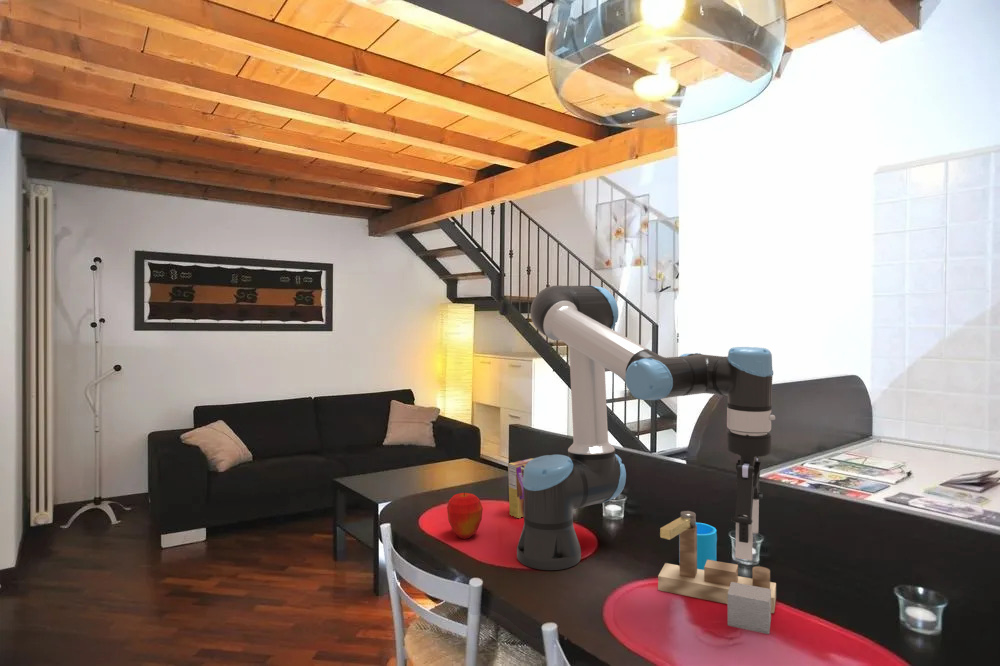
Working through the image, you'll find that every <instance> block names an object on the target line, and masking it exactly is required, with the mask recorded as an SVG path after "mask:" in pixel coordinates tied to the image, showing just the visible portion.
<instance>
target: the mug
mask: <svg viewBox="0 0 1000 666" xmlns="http://www.w3.org/2000/svg"><path fill="white" fill-rule="evenodd" d="M696 525H697V569H701V570H704V566H705V564H706V562H707V560H713V561H717V543H718V542H717V541H718V534H717V529H716V527H714V526H712V525H710V524H707V523H702V522H696ZM678 551H679V553H678V555H679V556H678V558H679V559H678V563H679V564H680V549H679V548H678Z"/></svg>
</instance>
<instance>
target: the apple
mask: <svg viewBox="0 0 1000 666" xmlns="http://www.w3.org/2000/svg"><path fill="white" fill-rule="evenodd" d="M446 509H447V511H446V512H447V519H448V523H449V525H450V527H451V530H452V532H453V533H454V534H456V536H457V537H458V538H461V539H465V540H466V539H469V538H471V537H472V536H473V535H475V534H476V533H477V531H478V530H479V527H480V525H481V522H482V519H483V511H484V510H483V505H482V503H481V500H480V498H479V497H478V496H477V495H475V494H474V493H469V492H465V490H464V491H463V492H459V493H456V494H454V495H453V496H452V497H451V498H449V500H448V502H447V505H446Z"/></svg>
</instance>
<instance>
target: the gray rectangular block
mask: <svg viewBox="0 0 1000 666" xmlns="http://www.w3.org/2000/svg"><path fill="white" fill-rule="evenodd" d="M771 620H772V613H771V589H768V588H762V587H757V586H751V585H746V584H740V583H735V582H731V584H730V587H729V591H728V604H727V626H729V627H733V628H738V629H741V630H742V629H743V630H747V631H751V632H756V633H761V634H765V635H770V630H771Z"/></svg>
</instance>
